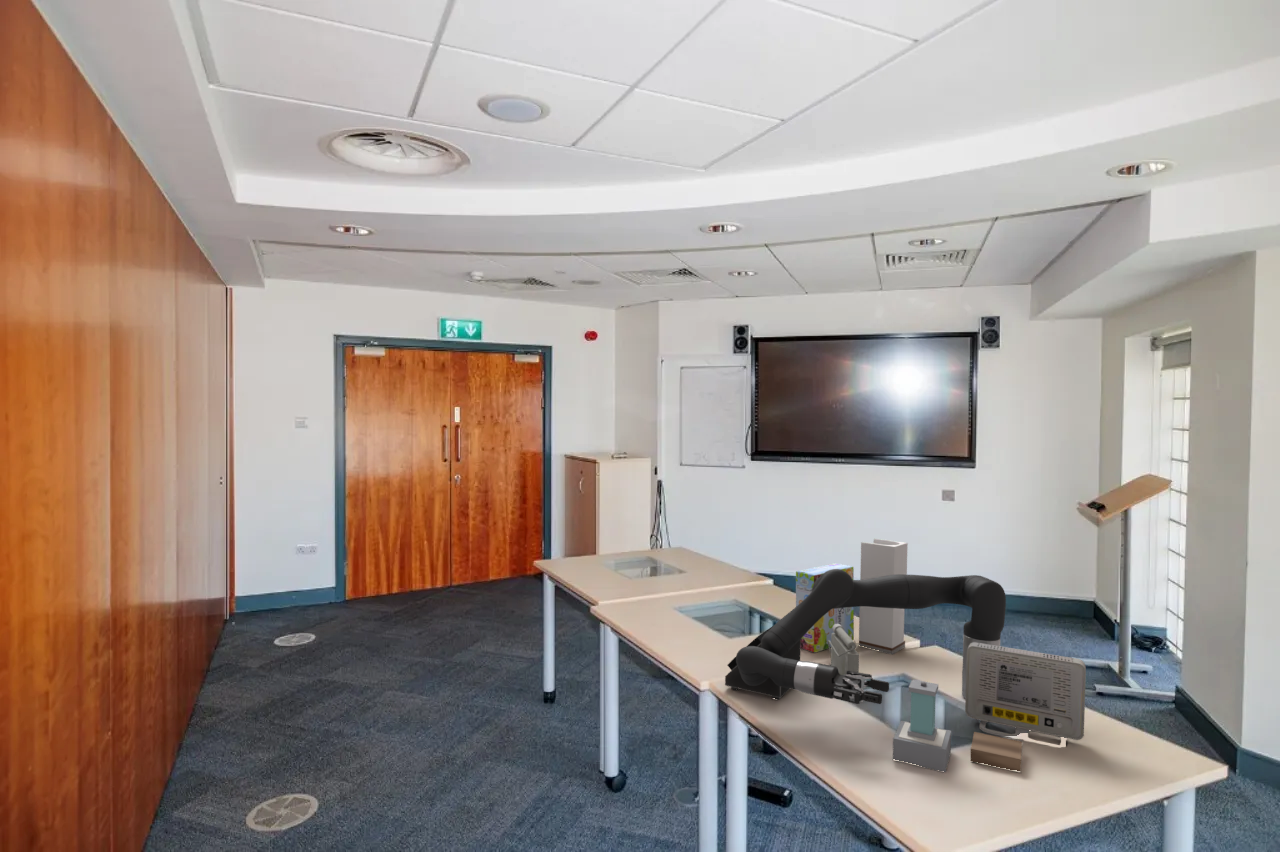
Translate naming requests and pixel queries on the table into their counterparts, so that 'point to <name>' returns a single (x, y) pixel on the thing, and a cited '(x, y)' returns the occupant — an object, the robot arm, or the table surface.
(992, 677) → the network device
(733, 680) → the voltmeter
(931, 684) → the housing
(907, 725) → the grey plinth
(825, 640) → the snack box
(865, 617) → the tall open-top box
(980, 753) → the walnut block
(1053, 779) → the table surface
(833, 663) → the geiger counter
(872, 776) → the table surface
